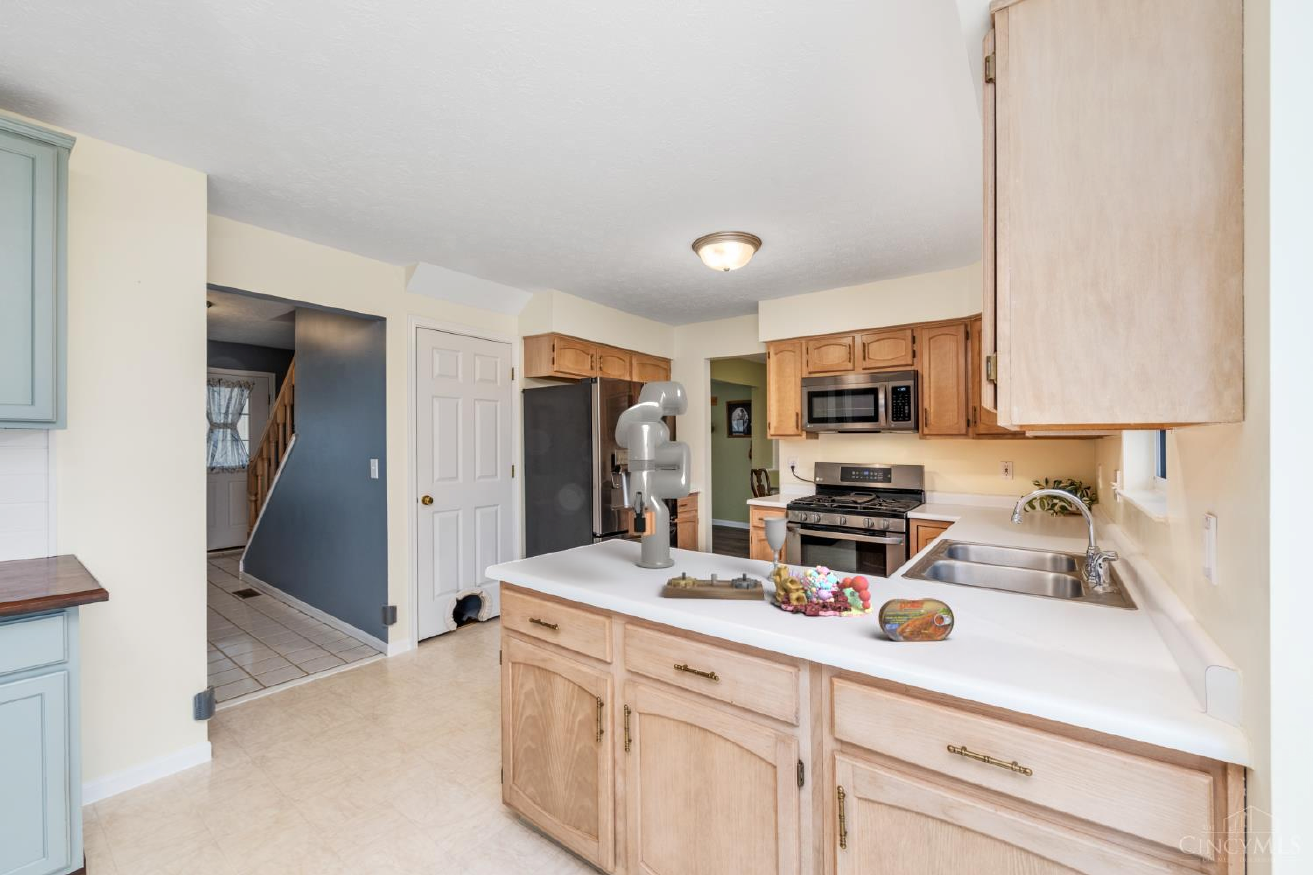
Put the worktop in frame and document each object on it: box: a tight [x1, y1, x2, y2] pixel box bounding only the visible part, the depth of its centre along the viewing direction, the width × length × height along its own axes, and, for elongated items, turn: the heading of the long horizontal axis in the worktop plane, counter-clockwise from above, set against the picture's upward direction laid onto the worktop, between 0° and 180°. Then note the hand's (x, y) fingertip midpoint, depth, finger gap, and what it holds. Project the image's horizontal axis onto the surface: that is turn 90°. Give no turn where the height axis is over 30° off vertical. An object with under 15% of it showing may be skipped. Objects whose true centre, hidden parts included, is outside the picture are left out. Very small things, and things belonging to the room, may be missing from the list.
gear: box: [628, 510, 655, 536], centre depth 159 cm, size 7×7×6 cm
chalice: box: [762, 516, 789, 583], centre depth 168 cm, size 7×7×18 cm
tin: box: [877, 597, 955, 643], centre depth 118 cm, size 15×3×8 cm, turn 91°
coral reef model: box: [770, 564, 875, 618], centre depth 144 cm, size 25×24×9 cm
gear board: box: [663, 572, 765, 601], centre depth 155 cm, size 12×26×5 cm, turn 83°
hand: (642, 529), depth 159 cm, fingers closed on gear, 7 cm apart
